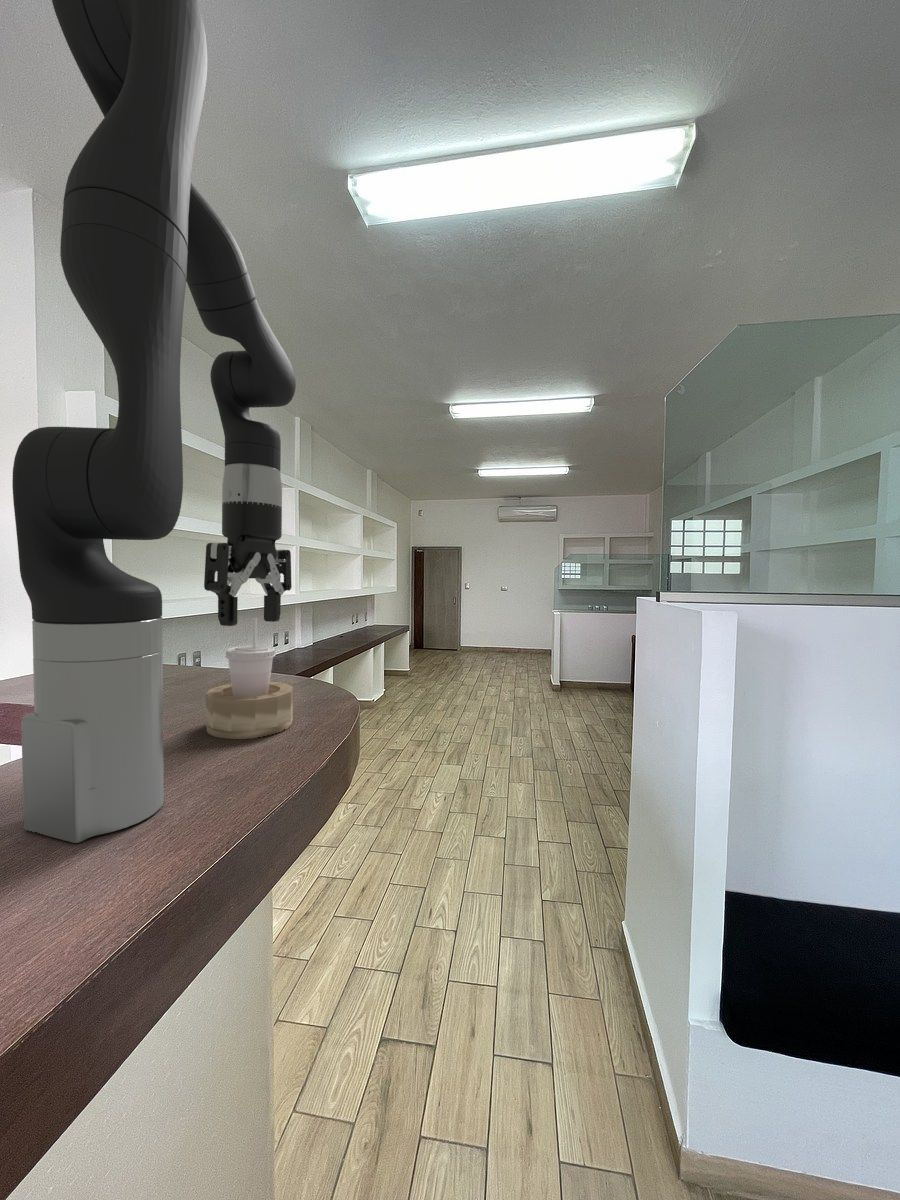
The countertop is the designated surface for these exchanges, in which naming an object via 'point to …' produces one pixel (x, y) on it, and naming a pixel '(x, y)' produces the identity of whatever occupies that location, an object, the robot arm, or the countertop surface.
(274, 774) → the countertop surface
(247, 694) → the smoothie
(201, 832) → the countertop surface
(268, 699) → the ring
